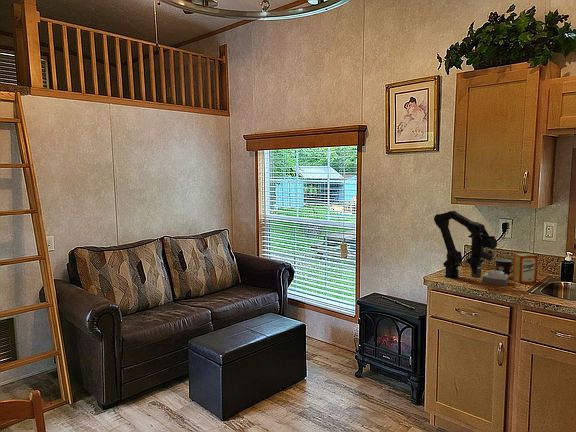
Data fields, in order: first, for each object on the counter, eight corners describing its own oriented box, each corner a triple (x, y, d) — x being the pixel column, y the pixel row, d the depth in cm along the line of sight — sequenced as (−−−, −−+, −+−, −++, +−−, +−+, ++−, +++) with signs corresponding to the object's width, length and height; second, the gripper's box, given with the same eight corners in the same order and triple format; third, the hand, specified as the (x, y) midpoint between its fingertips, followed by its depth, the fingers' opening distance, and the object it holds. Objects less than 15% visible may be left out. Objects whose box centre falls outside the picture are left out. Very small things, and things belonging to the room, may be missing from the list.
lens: (470, 277, 234) (470, 264, 233) (472, 275, 238) (472, 263, 237) (479, 278, 230) (480, 265, 230) (482, 276, 234) (482, 264, 234)
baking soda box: (519, 283, 232) (520, 255, 230) (513, 280, 238) (514, 253, 237) (536, 283, 232) (537, 255, 231) (529, 280, 239) (530, 253, 237)
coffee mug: (491, 275, 250) (492, 259, 249) (502, 274, 253) (502, 258, 252) (507, 280, 239) (508, 263, 238) (518, 278, 242) (519, 262, 241)
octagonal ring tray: (482, 282, 235) (482, 272, 234) (485, 279, 242) (486, 269, 241) (505, 285, 227) (506, 275, 227) (508, 282, 234) (509, 271, 234)
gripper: (488, 250, 220) (487, 278, 222) (496, 245, 235) (495, 272, 236) (466, 247, 227) (465, 275, 228) (475, 243, 242) (474, 269, 243)
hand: (476, 273), depth 234 cm, fingers closed on lens, 5 cm apart
